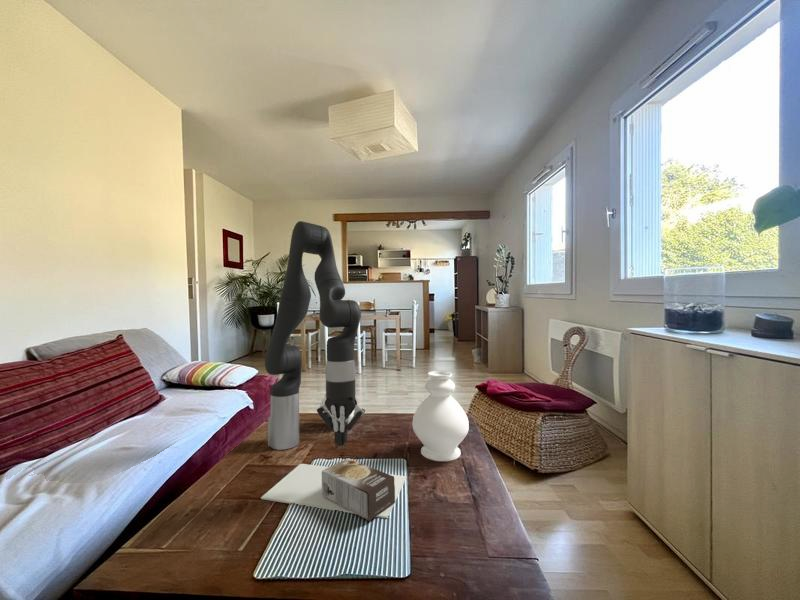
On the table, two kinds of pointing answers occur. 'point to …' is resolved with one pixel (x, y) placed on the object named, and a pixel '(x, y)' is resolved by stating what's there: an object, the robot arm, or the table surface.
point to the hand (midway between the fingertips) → (341, 445)
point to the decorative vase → (440, 419)
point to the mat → (314, 489)
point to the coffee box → (358, 488)
